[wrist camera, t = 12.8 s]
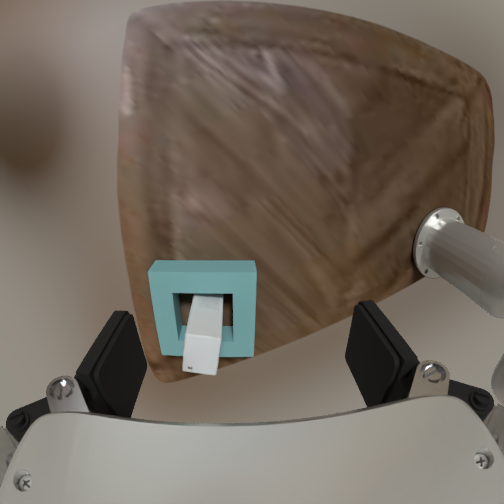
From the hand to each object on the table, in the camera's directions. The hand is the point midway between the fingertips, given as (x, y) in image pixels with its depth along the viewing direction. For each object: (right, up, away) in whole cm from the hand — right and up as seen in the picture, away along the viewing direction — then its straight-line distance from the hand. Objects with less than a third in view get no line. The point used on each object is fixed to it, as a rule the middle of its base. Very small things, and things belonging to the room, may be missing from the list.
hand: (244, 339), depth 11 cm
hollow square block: (-7, -4, +30) cm, 31 cm away
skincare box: (-6, -4, +30) cm, 31 cm away
